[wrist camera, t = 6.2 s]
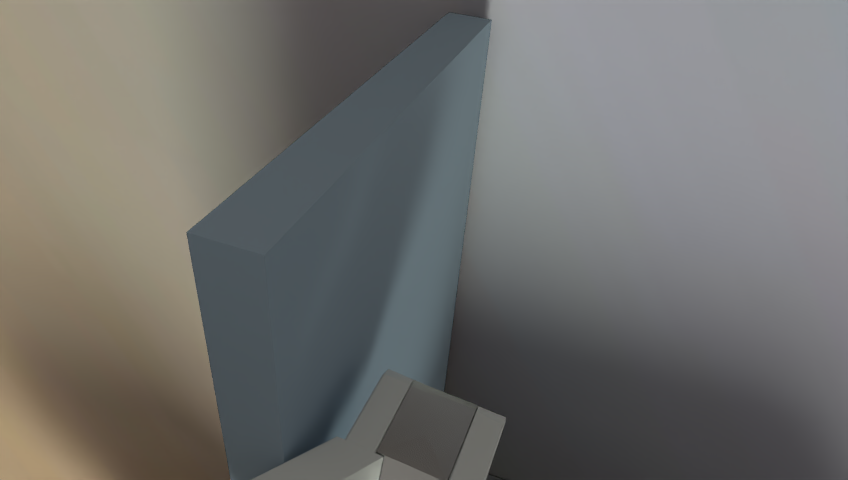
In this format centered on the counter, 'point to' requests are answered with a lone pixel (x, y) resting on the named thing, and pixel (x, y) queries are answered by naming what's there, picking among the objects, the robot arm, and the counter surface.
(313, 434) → the side door
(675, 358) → the counter surface
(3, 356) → the counter surface
